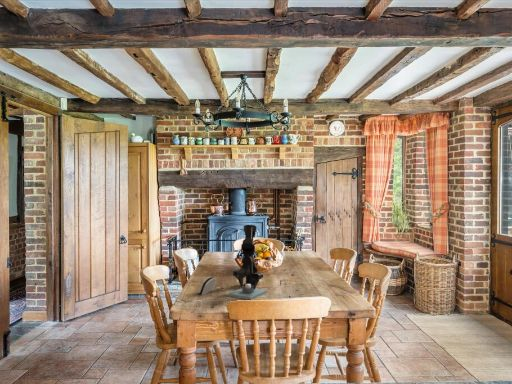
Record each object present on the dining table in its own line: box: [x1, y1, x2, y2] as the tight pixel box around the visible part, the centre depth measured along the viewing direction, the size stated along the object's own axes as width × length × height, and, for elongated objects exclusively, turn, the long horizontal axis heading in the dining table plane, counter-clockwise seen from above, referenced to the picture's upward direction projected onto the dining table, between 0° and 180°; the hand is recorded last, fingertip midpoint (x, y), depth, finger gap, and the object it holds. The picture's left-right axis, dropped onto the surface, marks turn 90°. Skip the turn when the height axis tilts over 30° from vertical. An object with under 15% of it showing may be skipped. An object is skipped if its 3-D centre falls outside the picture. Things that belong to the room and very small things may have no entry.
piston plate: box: [228, 283, 268, 300], centre depth 248 cm, size 18×16×6 cm
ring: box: [242, 285, 254, 294], centre depth 248 cm, size 7×7×3 cm
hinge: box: [196, 276, 218, 296], centre depth 255 cm, size 17×5×10 cm, turn 162°
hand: (248, 288), depth 248 cm, fingers open, 9 cm apart
